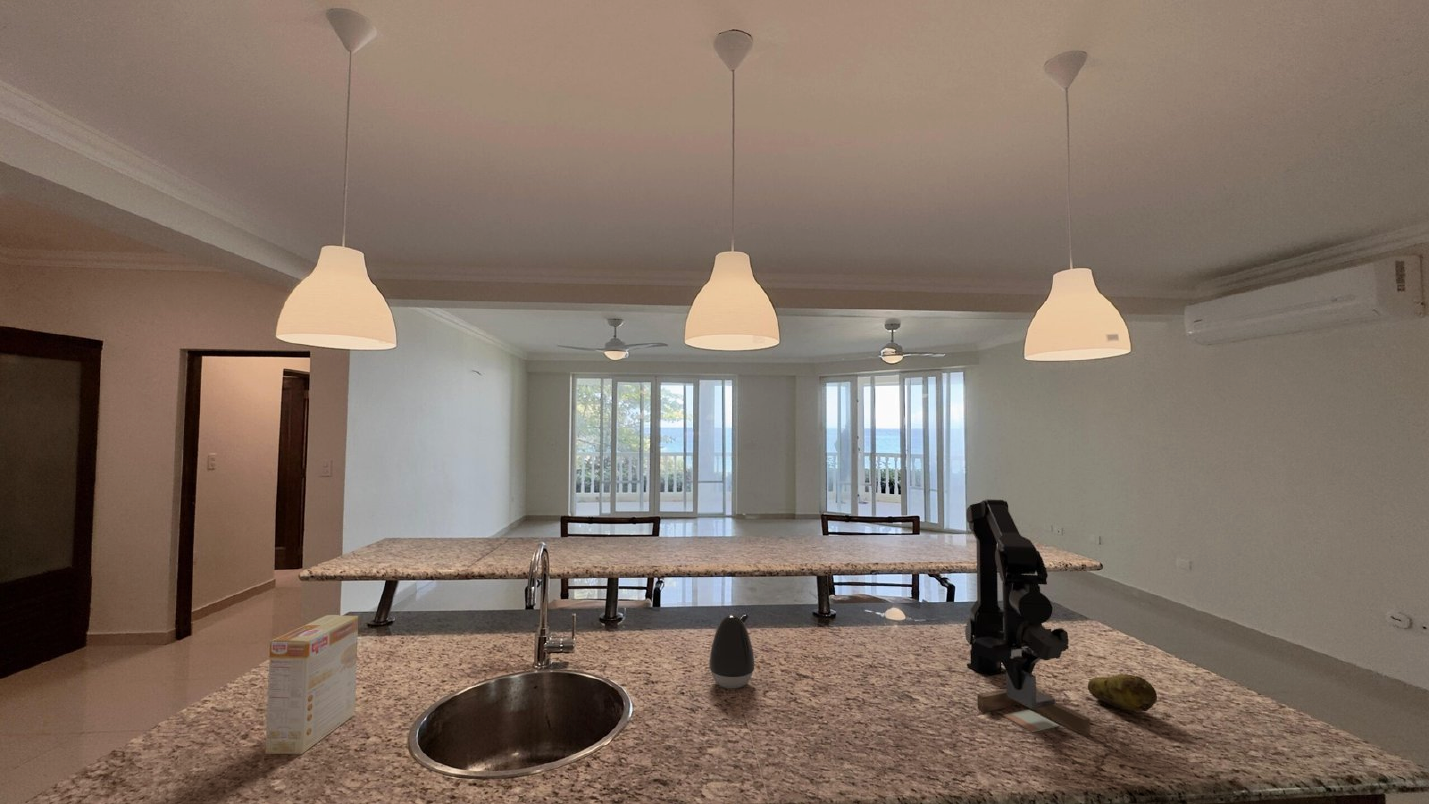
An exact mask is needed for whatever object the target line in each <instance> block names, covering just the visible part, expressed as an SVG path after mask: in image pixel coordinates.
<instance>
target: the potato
mask: <svg viewBox="0 0 1429 804" xmlns="http://www.w3.org/2000/svg"><path fill="white" fill-rule="evenodd" d="M1087 690H1088V692H1089V694H1091V695H1092V697H1093V698H1095V699H1096V700H1098V701H1101V702H1102V703H1106V704H1108V705H1110V706H1112V707H1114V708H1117V709H1121V710H1124V711H1139V712H1148V711H1149V710H1150V709H1152V707H1154V705H1155V704H1156V703H1157V701H1158V699H1157V698H1158V695H1157V691H1156V690H1155V688H1154V687H1153V685H1152V684H1151V683H1150V682H1149V681H1147V680H1146V679H1145V678H1143V677H1141V676H1137V675H1134V674H1133V675H1132V674H1126V673H1125V674H1118V675H1117V674H1116V675H1113V676H1110V677H1100V676H1099V677H1093V678H1091V679H1089V681H1088V682H1087Z"/></svg>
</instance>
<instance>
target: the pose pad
mask: <svg viewBox="0 0 1429 804" xmlns="http://www.w3.org/2000/svg"><path fill="white" fill-rule="evenodd" d="M1002 717H1005V718H1006V719H1008V720H1009V721H1011V722H1013V723H1015V724H1017V725H1019V726H1020V727H1022V728H1024V729H1026V730H1027V731H1029V732H1031V733H1035V732H1040V731H1043V730H1048V729H1053V728H1057V727H1060V725H1059V723H1057V722H1055V721H1053V720H1051V719H1049V718H1047V717H1045V716H1044V715H1042V714H1040V713H1038V712H1037V713H1036V711H1034V710H1032V709H1030V708H1028V709H1025V710H1019V711H1014V712H1010V713H1004V714H1002Z"/></svg>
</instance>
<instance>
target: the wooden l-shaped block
mask: <svg viewBox="0 0 1429 804" xmlns="http://www.w3.org/2000/svg"><path fill="white" fill-rule="evenodd" d="M976 700H977V710H978V711H980V712H982V713H988V712H992V711H996V710H1002V709H1006V708H1010V707H1016V706H1021V705H1023V704H1021V703H1019V702H1017V701H1015V700H1013V699H1011V698H1009V697H1007V696H1006V688H1003V689H996V690H992V691H987V692H982V693H978V694H977V699H976ZM1023 706H1024V707H1026V708H1028V709H1029V710H1031V711H1033V712H1035V713H1036V712H1037V714H1039V715H1041V716H1043V717H1045V718H1047V719H1049V720H1051V721H1053V722H1055V723H1057V724H1060V725H1061V726H1063V727H1066V728H1067V729H1070V730H1071V731H1073V732H1076V733H1078V734H1079V735H1081V736H1083V737H1089V736H1091V719H1090V717H1087V716H1085V715H1083V714H1081V713H1079V712H1077V711H1075V710H1072V709H1070V708H1069V707H1066V706H1064V705H1062V704H1061V703H1058V702H1056V701H1055V704H1054V705H1049V706H1044V707H1039V708H1035V709H1031V708H1029V707H1027V706H1025V705H1023Z"/></svg>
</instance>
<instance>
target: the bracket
mask: <svg viewBox="0 0 1429 804" xmlns="http://www.w3.org/2000/svg"><path fill="white" fill-rule="evenodd" d="M1005 687H1006V688H1005V689H1006V696H1007V697H1009V698H1011V699H1013V700H1015V701H1017V702H1019V703H1021V704H1023V706H1024V705H1025V706H1024V707H1026V706H1027V707H1026V708H1028V707H1029V708H1028V709H1030V708H1031V709H1030V710H1032V709H1035V708H1039V707H1044V706H1049V705H1054V704H1055V702H1056V699H1055V698H1054V697H1051V696H1050V695H1048V694H1045V693H1043V692H1041V691H1039V690H1037V675H1034V674H1033V673H1032V674H1030V673H1028V672H1025V671H1023V670H1022V676H1021V688H1020V690H1017V689H1015V688H1014V686H1013V684H1012V682H1011V680H1010V678H1009V676H1008V674H1007V671H1006V672H1005Z"/></svg>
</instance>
